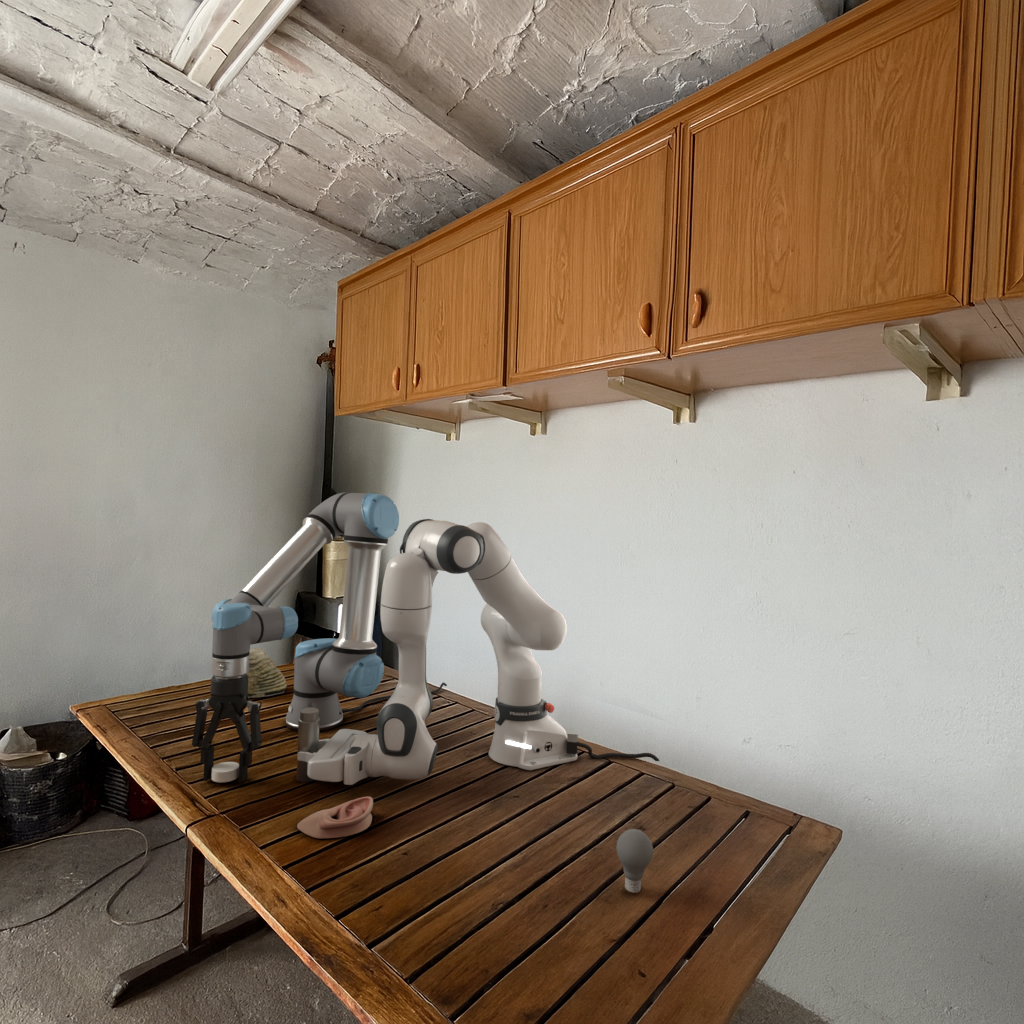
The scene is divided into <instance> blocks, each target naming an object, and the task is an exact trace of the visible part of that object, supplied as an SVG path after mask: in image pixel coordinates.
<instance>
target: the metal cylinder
mask: <svg viewBox="0 0 1024 1024" xmlns="http://www.w3.org/2000/svg"><path fill="white" fill-rule="evenodd" d="M318 713H319V710H318V709H317V708H304V709H302V710H301V711H300V718H299V724H298V731H297V753H296V756H297V755H298V753H299V752H300V751H301V750H308V752H309V753H314V752H315V753H317V752H318V751H319V750H320V749H319V740H320V731H319V723H320V718H319V717H318ZM307 770H308V763H307V762H305V761H299V760H298V759H297V758H296V781H298V782H300V783H309V782H313V781H315V780H314V779H311V778H309V777H308V775H307Z"/></svg>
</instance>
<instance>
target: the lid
mask: <svg viewBox="0 0 1024 1024" xmlns="http://www.w3.org/2000/svg"><path fill="white" fill-rule="evenodd" d="M210 779H211V781H212V782H215V783H228V782H233V781H235V780H237V779H239V762H236V761H223V762H219V763H216V764H213V767H212V777H211V778H210Z"/></svg>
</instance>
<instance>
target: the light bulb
mask: <svg viewBox="0 0 1024 1024" xmlns="http://www.w3.org/2000/svg"><path fill="white" fill-rule="evenodd" d="M615 849H616V854H617V857H618V859H619V861H620V863H621V865H622V867H623V873H624V874H623V875H624V876H625V878H624V888H625V890H627V891H628V892H630V893H634V894H635V893H639V892H640V891H641V889H642V887H641V886H642V879H643V877H644V875H645V871H646V868H647V867H648V866H649V864H650V863H651V861H652V859H653V855H654V847H653V843H652V841H651V838H649V836H648V835H647V834H646V833H645V832H643V831H642V830H641V829H636V828H629V829H627V830H625V831H623V832H622V833H621V834H620V835H619V837H618V839H617V841H616V847H615Z"/></svg>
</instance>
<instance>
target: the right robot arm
mask: <svg viewBox="0 0 1024 1024" xmlns="http://www.w3.org/2000/svg"><path fill="white" fill-rule="evenodd" d="M439 571H440V572H441V571H442V572H447V573H449V574H453V575H454V574H455V575H458V574H459V575H460V574H466V573H467V574H468V575H469V578H470V579H471V582H472V583H473V584H474V587H475V588H476V590H477V591H478V593H479V595H480V596H481V598H482V600H483V601H484V602H485V603H486V604H484V606H483V608H482V611H481V613H480V625H481V628H482V630H483V631H484V632H485V633H486V635H487V636H488V638H489V640H490V643H491V645H492V649H493V652H494V655H495V660H496V665H497V695H496V696H497V697H496V698H495V704H494V715H493V716H494V722H495V723H494V730H493V735H492V740H491V743H490V747H489V750H488V752H487V753H488V756H489V758H490V759H491V760H492V761H494V762H496V763H499V764H502V765H505V766H508V767H509V766H510V767H517V768H519V769H522V770H526V771H534V770H538V769H543V768H548V767H551V766H556V765H560V764H565V763H571V762H574V761H577V760H578V747H580V748H584V749H585V750H587V753H588V754H587V755H588V756H589V757H590V758H592V759H596V760H598V759H606V758H607V759H608V758H621V759H622V758H623V759H641V758H642V759H643V758H651V759H652V760H654V761H655V762H660V758H658V757H657V756H656V755H655V754H653V753H651V752H640V753H623V752H608V753H602V754H594V753H593V748H592V747H591V746H590V745H588V744H586V743H583V742H580V741H579V740H578V739H579V737H578V736H579V735H578V734H577V733H568V732H567V731H566V729H565V728H564V727H563V726H562V725H561V724H560V723H559V722H558V721H557V720H555V719H554V718H553V717H552V716H551V715H549V714H552V713H554V711H555V709H556V708H555V706H554V705H553V704H552V703H550V702H548V701H546V700H544V699H542V687H543V686H542V685H543V671H542V668H541V666H540V664H539V663H538V662H537V660H536V659H535V657H534V655H533V654H532V653H533V652H532V650H534V651H554V650H557V649H559V647H561V646H562V644H563V643H564V641H565V639H566V637H567V634H568V633H567V631H568V625H567V621H566V618H565V616H564V615H563V613H561V612H560V611H558V610H557V609H556V608H554V607H553V606H551V605H550V604H549V603H547V602H546V601H545V599H544V598H542V597H541V596H540V595H539V593H538V592H537V591H536V590H535V589H534V587H532V586H531V585H530V584H529V582H528V581H527V580H526V578H525V577H524V576H523V574H522V572H521V571H520V569H519V567H518V565H517V563H516V561H515V560H514V558H513V556H512V554H511V551H509V549H508V547H507V545H506V544H505V542H504V541H503V540H502V537H501V536H499V534H498V533H497V532H496V531H495V529H494V528H493V527H492V525H490V524H488V523H486V522H481V521H478V522H472V523H470V524H468V525H467V526H466V525H462V524H458V523H455V522H452V521H448V520H435V519H431V518H423V519H419V520H416V521H414V522H412V523H411V524H410V525H409V526H408V528H407V529H406V531H405V532H404V534H403V537H402V542H401V545H400V546H399V553H398V554H396V555H394V556H393V557H391V558H390V559H389V560H388V562H387V563H386V567H385V571H384V575H383V580H382V586H381V595H380V611H379V612H380V625H381V630H382V634H383V635H384V636H385V637H386V638H387V639H388V640H389V641H391V642H392V643H394V644H396V646H397V649H398V681H397V684H396V686H395V688H394V690H393V692H392V693H391V695H392V696H391V697H390V698H388V699H387V701H386V702H385V703H384V705H383V706H382V707H381V708H380V710H379V713H378V714H377V718H376V733H377V734H373V733H368V732H366V731H363V730H359V729H351V728H341V729H339V730H338V731H336V733H334V735H333V736H332V737H331V738H323V739H319V749H318V752H317V753H315V752H314V753H309V752H308V750H301V751H300V752H299V753H298V755H297V754H296V760H297V759H298V760H299V761H305V762H307V763H308V770H307V775H308V777H309V778H311V779H314V780H313V781H320V782H329V783H339V782H343V785H347V786H353V785H354V784H357V782H359V781H361V780H364V779H367V778H379V777H388V778H390V779H392V780H394V779H395V780H421V779H425V778H427V777H429V776H430V775H431V773H432V771H433V770H434V766H435V762H436V759H437V756H438V743H437V742H436V741H435V740H434V739H433V738H432V736H431V734H430V733H429V730H428V728H427V726H426V722H425V721H426V720H427V719H428V718H429V717H430V715H431V714H432V711H433V707H434V699H433V695H432V694H431V690H430V686H429V684H428V681H427V641H428V635H429V630H430V627H431V619H432V612H433V586H434V582H435V579H436V577H437V576H438V574H439Z"/></svg>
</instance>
